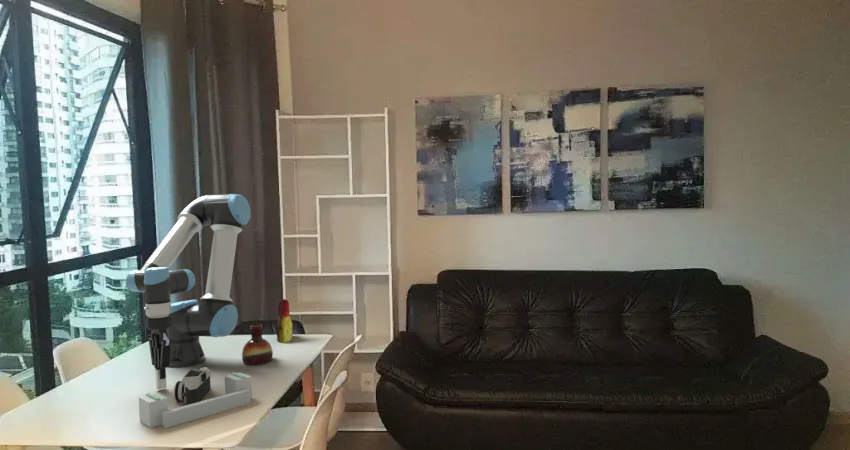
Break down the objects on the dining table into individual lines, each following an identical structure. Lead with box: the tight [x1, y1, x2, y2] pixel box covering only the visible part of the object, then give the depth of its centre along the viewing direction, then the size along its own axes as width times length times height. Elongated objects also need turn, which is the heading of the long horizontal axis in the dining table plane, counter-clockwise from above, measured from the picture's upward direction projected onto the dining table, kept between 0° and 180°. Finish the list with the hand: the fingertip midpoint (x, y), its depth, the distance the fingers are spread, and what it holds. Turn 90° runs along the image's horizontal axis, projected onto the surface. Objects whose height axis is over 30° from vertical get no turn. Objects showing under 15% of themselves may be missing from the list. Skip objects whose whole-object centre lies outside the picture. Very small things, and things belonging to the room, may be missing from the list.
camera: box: [173, 366, 212, 406], centre depth 187 cm, size 16×9×10 cm, turn 3°
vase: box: [241, 323, 274, 366], centre depth 224 cm, size 11×11×15 cm
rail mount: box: [138, 371, 253, 429], centre depth 177 cm, size 10×31×8 cm, turn 137°
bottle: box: [276, 298, 293, 344], centre depth 254 cm, size 12×6×20 cm, turn 1°
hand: (161, 388), depth 195 cm, fingers closed
